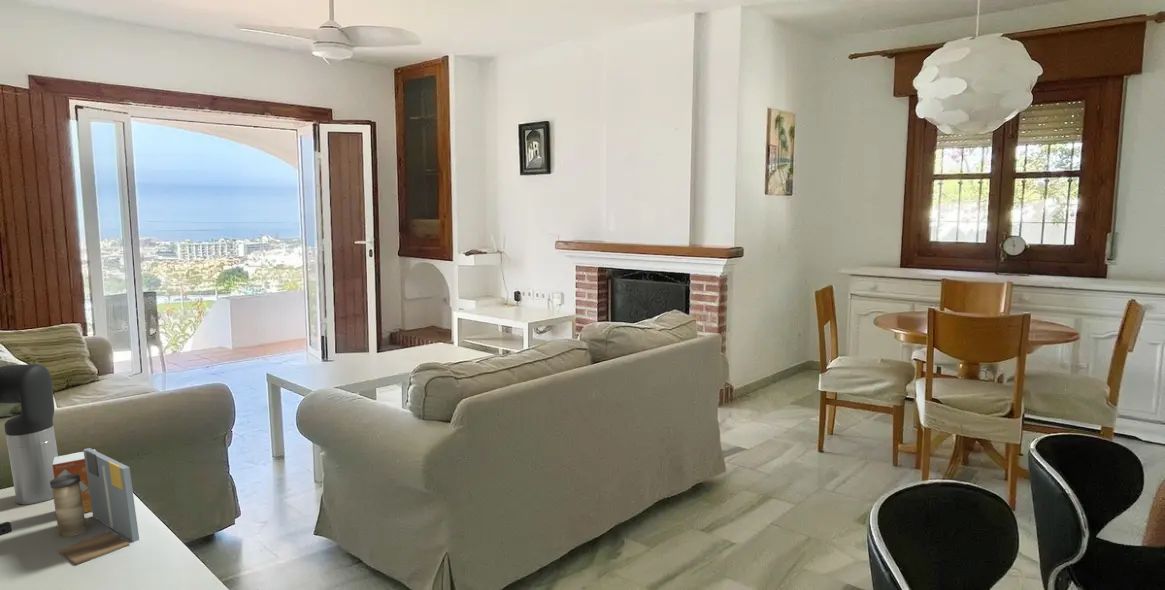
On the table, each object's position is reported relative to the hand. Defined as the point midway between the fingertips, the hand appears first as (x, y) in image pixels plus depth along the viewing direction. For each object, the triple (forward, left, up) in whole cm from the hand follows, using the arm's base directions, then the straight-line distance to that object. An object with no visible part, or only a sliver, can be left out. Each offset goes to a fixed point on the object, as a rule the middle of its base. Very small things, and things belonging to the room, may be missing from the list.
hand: (4, 521), depth 144 cm
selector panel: (+6, +17, -7) cm, 20 cm away
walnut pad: (+13, +11, -7) cm, 18 cm away
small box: (-12, +17, -7) cm, 22 cm away
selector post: (0, +11, -7) cm, 13 cm away
